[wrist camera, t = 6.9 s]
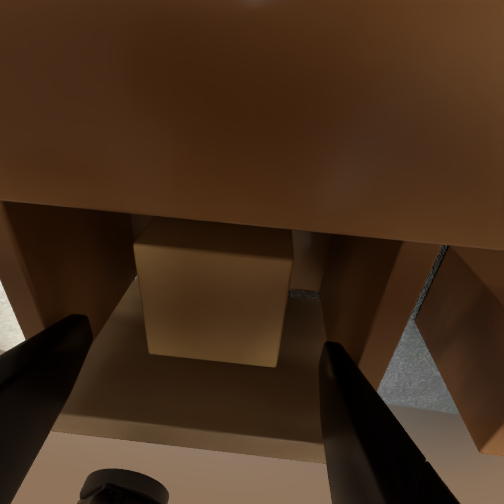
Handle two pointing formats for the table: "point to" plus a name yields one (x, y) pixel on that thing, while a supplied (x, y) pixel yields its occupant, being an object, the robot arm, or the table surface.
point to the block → (214, 289)
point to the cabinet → (261, 113)
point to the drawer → (196, 370)
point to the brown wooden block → (470, 338)
